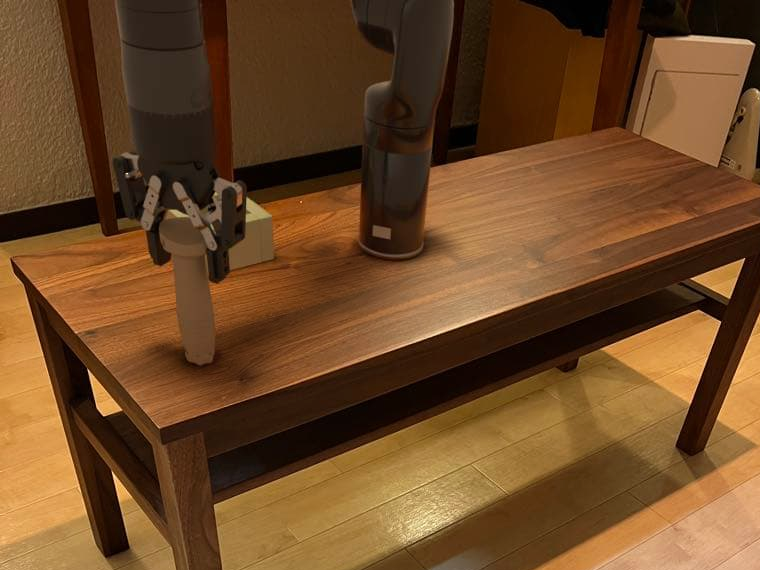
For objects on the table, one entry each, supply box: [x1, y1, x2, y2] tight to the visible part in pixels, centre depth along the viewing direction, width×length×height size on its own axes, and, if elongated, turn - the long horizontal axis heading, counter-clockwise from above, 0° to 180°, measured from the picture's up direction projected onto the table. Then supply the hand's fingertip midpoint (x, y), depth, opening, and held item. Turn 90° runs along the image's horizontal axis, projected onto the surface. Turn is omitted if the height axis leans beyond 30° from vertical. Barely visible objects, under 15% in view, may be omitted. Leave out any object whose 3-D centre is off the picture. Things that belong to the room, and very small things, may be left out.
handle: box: [159, 217, 216, 366], centre depth 86 cm, size 5×6×15 cm
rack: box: [165, 192, 275, 277], centre depth 107 cm, size 11×11×6 cm
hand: (190, 270), depth 83 cm, fingers closed on handle, 6 cm apart
